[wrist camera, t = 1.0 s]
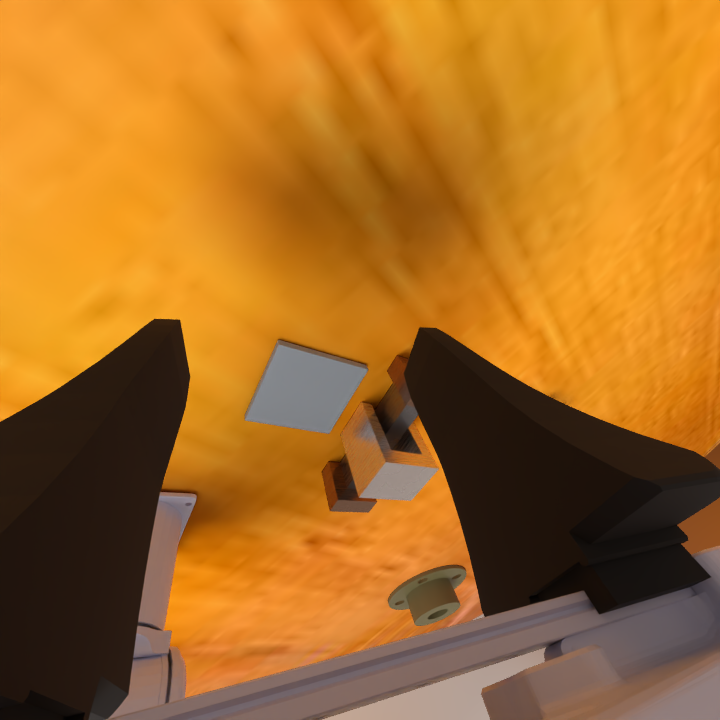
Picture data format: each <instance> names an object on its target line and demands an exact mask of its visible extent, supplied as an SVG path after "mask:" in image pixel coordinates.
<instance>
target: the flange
mask: <svg viewBox="0 0 720 720" xmlns="http://www.w3.org/2000/svg"><path fill="white" fill-rule="evenodd" d="M465 577H466V571H465V569H464V568H463V567H462V566H459V565H447V566H441V567H437V568H434V569H431V570H428V571H425V572H423V573H421V574H419V575H416V576H414V577H412V578H411V579H409V580H407V581H406V582H404V583H403V584H401V585H400V586H398V587H397V588H396V589H395V590H394V591H393V592H392V593H391V594H390V596H389V598H388V603H389V606H390V607H391V608H392V609H396V610H404V609H410V611H411V614H412V617H413V620H414V623H415V625H417V626H423V625H428V624H431V623H434V622H437V621H439V620H442V619H444V618H446V617H447V616H449V615H451V614H452V613H454V612H455V611H456V610H457V609H458V608H459V607H460V603H459V600H458V598H457V596H456V593H455V591H454V589H455V588H456V587H457V586H459V585H460V584H461V583H462V582H463V580H464V579H465Z"/></svg>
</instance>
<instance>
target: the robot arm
mask: <svg viewBox="0 0 720 720" xmlns="http://www.w3.org/2000/svg"><path fill="white" fill-rule="evenodd" d="M404 377H405V380H406V384H407V388H408V391H409V394H410V397H411V400H412V402H413V404H414V406H415V409H416V411H417V413H418V415H419V417H420V419H421V422H422V424H423V426H424V428H425V430H426V432H427V434H428V436H429V438H430V440H431V443H432V445H433V447H434V449H435V451H436V453H437V455H438V458H439V460H440V463H441V465H442V468H443V471H444V473H445V476H446V479H447V482H448V485H449V488H450V491H451V494H452V497H453V500H454V503H455V506H456V510H457V513H458V516H459V519H460V523H461V526H462V530H463V533H464V537H465V541H466V544H467V548H468V552H469V555H470V559H471V564H472V568H473V572H474V576H475V581H476V585H477V589H478V594H479V598H480V603H481V608H482V611H483V614H484V616H485V617H484V618H480V619H476V620H472V621H469V622H465V623H461V624H458V625H454V626H450V627H446V628H443V629H439V630H435V631H432V632H428V633H424V634H421V635H417V636H413V637H409V638H406V639H402V640H398V641H395V642H391V643H387V644H384V645H380V646H376V647H372V648H369V649H365V650H361V651H358V652H354V653H350V654H346V655H343V656H339V657H335V658H332V659H328V660H324V661H321V662H317V663H313V664H309V665H306V666H302V667H298V668H295V669H291V670H287V671H283V672H280V673H276V674H272V675H269V676H265V677H261V678H258V679H254V680H250V681H246V682H243V683H239V684H235V685H232V686H228V687H224V688H221V689H217V690H213V691H209V692H206V693H202V694H198V695H195V696H191V697H187V698H185V690H186V666H185V661H184V659H183V657H182V656H181V653H180V651H179V649H178V647H175V646H173V647H169V646H170V639H171V633H172V631H164V627H165V621H166V615H167V609H168V603H169V597H170V591H171V585H172V579H173V573H174V567H175V561H176V555H177V549H178V543H179V541H180V538H181V536H182V534H183V531H184V529H185V526H186V524H187V522H188V519H189V517H190V514H191V512H192V510H193V507H194V505H195V502H196V499H197V496H196V495H195V494H191V493H171V492H160V491H161V487H162V484H163V480H164V476H165V473H166V470H167V466H168V463H169V460H170V457H171V453H172V450H173V447H174V444H175V440H176V437H177V434H178V431H179V427H180V424H181V421H182V417H183V414H184V411H185V407H186V401H187V395H188V388H189V381H190V373H189V367H188V362H187V356H186V351H185V345H184V339H183V334H182V328H181V322H180V320H173V319H154V320H152V321H151V322H150V323H148V324H147V325H146V326H144V327H143V328H142V329H140V330H139V331H138V332H137V333H135V334H134V335H133V336H131V337H130V338H129V339H128V340H126V341H125V342H124V343H122V344H121V345H120V346H118V347H117V348H116V349H114V350H113V351H112V352H110V353H109V354H108V355H106V356H105V357H104V358H102V359H101V360H100V361H98V362H97V363H95V364H94V365H92V366H91V367H90V368H88V369H87V370H85V371H84V372H82V373H81V374H79V375H78V376H76V377H75V378H73V379H72V380H70V381H69V382H67V383H66V384H64V385H63V386H61V387H60V388H58V389H57V390H55V391H53V392H52V393H50V394H49V395H47V396H45V397H44V398H42V399H40V400H39V401H37V402H35V403H33V404H32V405H30V406H28V407H26V408H25V409H23V410H21V411H19V412H17V413H16V414H14V415H12V416H10V417H9V418H7V419H5V420H3V421H1V422H0V720H322V719H325V718H328V717H331V716H334V715H337V714H340V713H344V712H347V711H350V710H353V709H356V708H359V707H362V706H365V705H368V704H372V703H375V702H378V701H381V700H384V699H387V698H390V697H393V696H396V695H399V694H402V693H406V692H409V691H412V690H415V689H418V688H421V687H424V686H427V685H431V684H433V683H437V682H440V681H443V680H446V679H449V678H452V677H455V676H458V675H461V674H464V673H468V672H471V671H474V670H477V669H480V668H483V667H486V666H489V665H493V664H496V663H499V662H502V661H505V660H508V659H511V658H514V657H517V656H520V655H524V654H526V653H530V652H533V651H536V650H539V649H542V648H545V647H547V648H546V649H545V653H544V658H545V662H544V663H541V664H538V665H536V666H533V667H531V668H528V669H525V670H523V671H521V672H519V673H517V674H516V675H513V676H511V677H509V678H507V679H504V680H502V681H500V682H497V683H495V684H492V685H490V686H487V687H485V688H483V689H482V693H481V695H482V697H483V700H484V703H485V706H486V709H487V711H488V714H489V717H490V720H720V546H717V547H713V548H709V549H706V550H702V551H700V552H697V553H694V554H692V555H691V554H690V553H689V552H688V551H687V550H686V549H685V548H684V547H683V546H682V545H681V543H684V542H686V541H688V537H687V535H686V534H685V533H684V532H683V531H682V530H681V529H680V528H679V527H678V526H677V524H679V523H681V522H682V521H684V520H686V519H687V518H689V517H690V516H692V515H693V514H695V513H697V512H698V511H700V510H701V509H703V508H705V507H706V506H708V505H709V504H711V503H712V502H713V501H715V500H717V499H718V498H719V497H720V469H718V468H717V467H716V466H715V465H714V464H712V463H711V462H710V461H709V460H707V459H706V458H704V457H703V456H701V455H699V454H698V453H696V452H694V451H691V450H688V449H685V448H682V447H678V446H675V445H672V444H669V443H666V442H662V441H659V440H656V439H653V438H650V437H647V436H643V435H641V434H638V433H635V432H632V431H629V430H627V429H624V428H621V427H618V426H616V425H613V424H610V423H608V422H605V421H603V420H600V419H598V418H595V417H593V416H590V415H588V414H586V413H584V412H581V411H579V410H577V409H574V408H572V407H570V406H568V405H565V404H563V403H561V402H559V401H557V400H555V399H553V398H551V397H549V396H547V395H545V394H543V393H541V392H539V391H537V390H535V389H533V388H532V387H530V386H528V385H526V384H524V383H523V382H521V381H519V380H517V379H516V378H514V377H512V376H511V375H509V374H507V373H506V372H504V371H502V370H501V369H499V368H498V367H496V366H495V365H493V364H491V363H490V362H488V361H487V360H485V359H484V358H482V357H481V356H479V355H478V354H476V353H475V352H473V351H472V350H470V349H469V348H467V347H466V346H464V345H463V344H461V343H460V342H458V341H457V340H455V339H454V338H452V337H451V336H449V335H448V334H446V333H444V332H442V331H441V330H439V329H437V328H419V331H418V334H417V336H416V339H415V342H414V345H413V348H412V351H411V354H410V357H409V360H408V363H407V366H406V368H405V371H404Z"/></svg>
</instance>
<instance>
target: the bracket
mask: <svg viewBox="0 0 720 720" xmlns="http://www.w3.org/2000/svg"><path fill="white" fill-rule="evenodd" d="M341 439H342V442H343V445H344V449H345V452H346V455H347V459H348V462H349V466H350V469H351V472H352V476H353V479H354V483H355V486H356V489H357V493H358V496H359V498H375V499H392V500H410V501H411V500H412V499H413V498H414V497H415V496H416V494H417V493H418V492H419V491H420V490H421V489H422V488H423V486H424V485H425V484H426V483H427V482H428V481H429V480H430V478H431V477H432V476H433V475H434V474H435V473H436V472H437V470H438V469H439V468H438V466H437V464H436V462H435V461H434V459H433V457H432V455H431V453H430V452H429V450H428V448H427V446H426V444H425V443H424V441H423V439H422V437H421V435H420V433H419V432H418V430H417V428H416V426H415V424H414V423H413V422H412V424H411V425H410V426H409V428H408V429H407V430H406V432H405V433H404V434H403V436H402V437H401V438H400V440H399V441H398V442H397V444H396V445H395V446H394V448H393V449H392V450H391V448H390V446H389V443H388V441H387V439H386V437H385V434H384V432H383V430H382V427H381V425H380V423H379V421H378V418H377V416H376V414H375V411H374V409H373V407H372V405H371V404H369V403H365V402H361V403H360V405H359V406H358V408H357V409H356V411H355V413H354V414H353V416H352V417H351V419H350V420H349V422H348V424H347V425H346V427H345V428H344V430H343V431H342V433H341Z"/></svg>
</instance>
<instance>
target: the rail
mask: <svg viewBox="0 0 720 720" xmlns="http://www.w3.org/2000/svg"><path fill="white" fill-rule="evenodd" d="M408 360H409V359H407V358H404V357H401V356H398V355H397V357H396V358H395V360H394V361H393V363H392V364H391V366H390V367H389V369H388V370H387V372H388V374H389V375H390V377H391V379H392V381H393V384H392V386H391V387H390V389H389V390H388V392H387V393H386V395H385V396H384V398H383V399H382V401H381V402H380V404H379V405H378V407H377V408H376V410H375V414H376V416H377V418H378V421H379V423H380V425H381V427H382V430H383V432H384V434H385V437H386V439H387V441H388V443H389V446H390V448H391V450H392V449H393V448H394V446H395V445H396V444H397V442H398V441H399V440H400V438H401V437H402V436H403V434H404V433H405V432H406V430H407V429H408V428H409V426H410V425H411V424H412V422H413V421H414V420H415V418H416V417H417V416H418V413H417V411H416V409H415V406H414V404H413V402H412V400H411V397H410V394H409V391H408V388H407V384H406V380H405V377H404V371H405V368H406V366H407V363H408ZM322 476H323V481H324V486H325V490H326V495H327V500H328V505H329V509H330V511H339V512H369V511H370V510H371V509H372V507H373V506H374V505H375V504H376V502H377V501H376V499H375V498H359V496H358V493H357V489H356V486H355V483H354V479H353V476H352V472H351V469H350V466H349V462H348V459H347V455H346V454H345V456H344V457H343V459H342V460H341V462H340V463H339V462H330V461H329V462H328V463H327V465H326V466H325V468H324V470H323V471H322Z"/></svg>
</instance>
